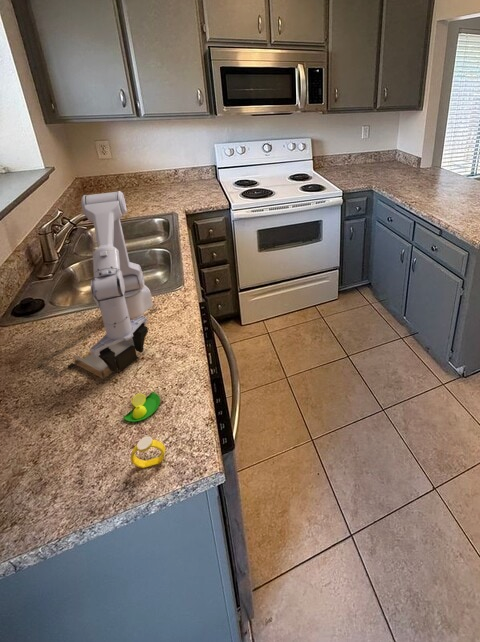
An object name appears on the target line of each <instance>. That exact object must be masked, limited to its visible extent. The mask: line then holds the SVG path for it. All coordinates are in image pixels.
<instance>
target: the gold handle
mask: <svg viewBox="0 0 480 642" xmlns="http://www.w3.org/2000/svg"><path fill="white" fill-rule="evenodd" d="M75 366H76V364H75V363H73V362H72V363H70V364H68V365H67V367H68V368H69V369H72V368H73V367H75Z"/></svg>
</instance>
